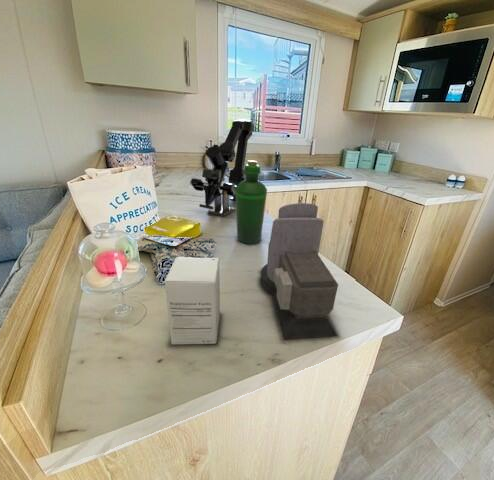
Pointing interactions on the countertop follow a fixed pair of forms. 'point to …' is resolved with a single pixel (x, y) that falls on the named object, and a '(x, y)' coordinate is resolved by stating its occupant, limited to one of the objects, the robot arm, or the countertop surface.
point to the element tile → (174, 227)
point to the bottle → (250, 205)
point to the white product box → (193, 300)
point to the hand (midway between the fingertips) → (206, 204)
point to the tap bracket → (223, 208)
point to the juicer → (299, 274)
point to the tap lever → (207, 205)
